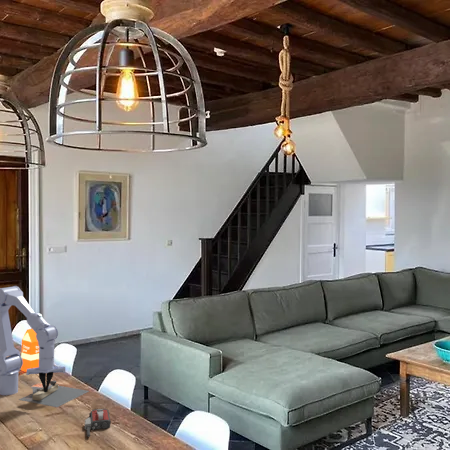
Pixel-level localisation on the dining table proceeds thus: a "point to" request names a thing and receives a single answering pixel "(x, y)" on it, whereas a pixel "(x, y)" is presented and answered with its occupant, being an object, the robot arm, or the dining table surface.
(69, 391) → the board
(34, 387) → the block
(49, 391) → the link
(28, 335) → the orange juice
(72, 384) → the dining table surface
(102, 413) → the walkie-talkie
